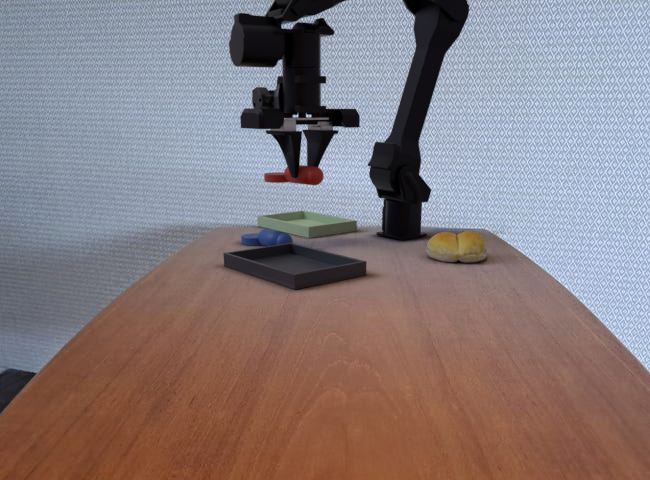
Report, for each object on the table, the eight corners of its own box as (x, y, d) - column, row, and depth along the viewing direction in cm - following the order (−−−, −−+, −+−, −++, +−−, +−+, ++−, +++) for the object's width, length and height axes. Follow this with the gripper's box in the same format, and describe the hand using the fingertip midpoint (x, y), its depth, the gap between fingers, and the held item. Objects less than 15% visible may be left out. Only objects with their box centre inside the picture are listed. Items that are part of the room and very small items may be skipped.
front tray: (366, 275, 91) (366, 261, 91) (294, 289, 84) (294, 274, 83) (292, 254, 104) (291, 242, 103) (224, 266, 96) (223, 252, 96)
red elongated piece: (331, 184, 105) (331, 166, 104) (310, 187, 102) (310, 167, 101) (279, 179, 113) (279, 161, 112) (258, 181, 110) (257, 163, 109)
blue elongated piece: (301, 250, 107) (300, 232, 106) (277, 253, 104) (276, 235, 103) (259, 239, 116) (258, 222, 115) (236, 242, 113) (235, 225, 112)
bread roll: (428, 251, 106) (429, 225, 105) (486, 253, 104) (488, 227, 103) (422, 262, 99) (424, 234, 97) (485, 265, 97) (487, 237, 95)
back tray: (356, 230, 123) (356, 220, 123) (308, 238, 117) (308, 226, 116) (303, 220, 135) (303, 210, 134) (257, 225, 128) (257, 215, 128)
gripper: (319, 72, 112) (319, 170, 117) (219, 68, 101) (224, 176, 106) (362, 70, 104) (361, 175, 109) (259, 65, 93) (263, 182, 98)
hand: (302, 177), depth 106 cm, fingers closed on red elongated piece, 3 cm apart
